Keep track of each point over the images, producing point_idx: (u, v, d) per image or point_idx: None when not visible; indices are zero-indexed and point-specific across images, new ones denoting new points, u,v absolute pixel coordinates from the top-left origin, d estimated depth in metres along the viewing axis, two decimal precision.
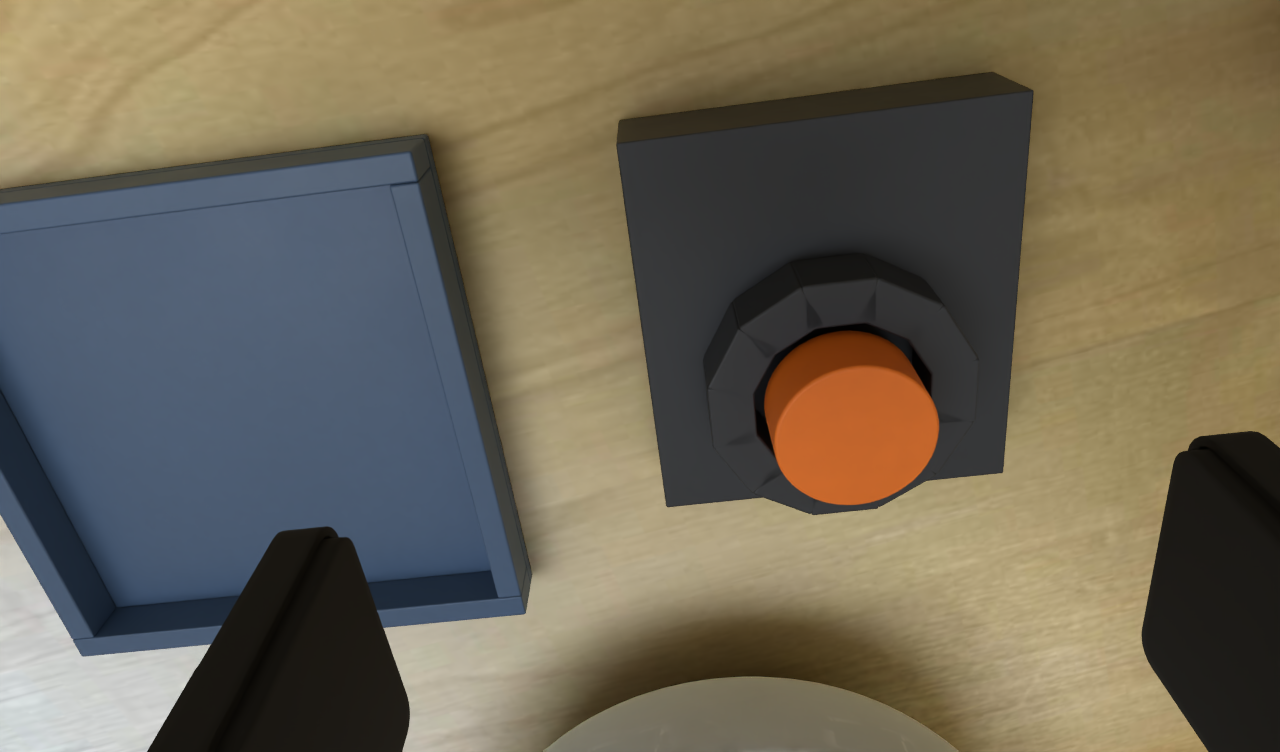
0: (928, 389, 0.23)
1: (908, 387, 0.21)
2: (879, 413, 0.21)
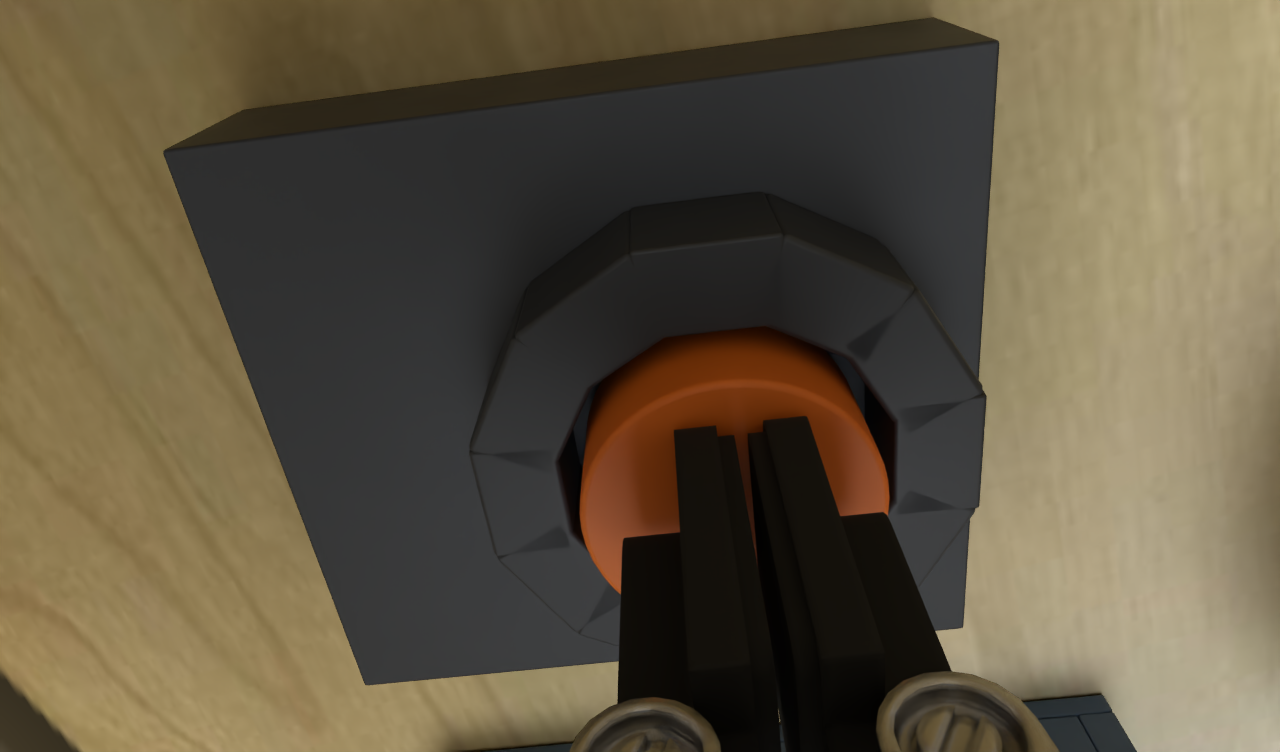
0: None
1: (623, 449, 0.11)
2: None
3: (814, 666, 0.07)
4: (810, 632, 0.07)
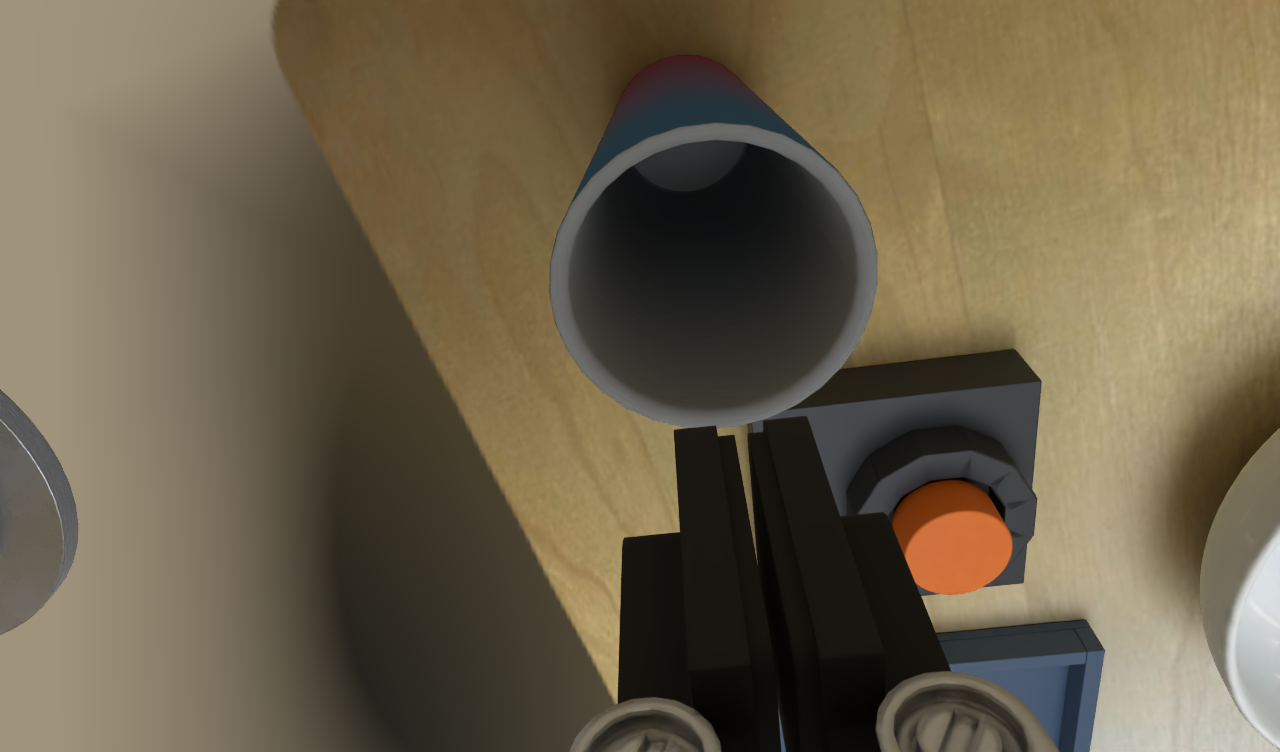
0: None
1: (924, 532, 0.32)
2: (941, 544, 0.32)
3: (814, 665, 0.07)
4: (811, 631, 0.07)
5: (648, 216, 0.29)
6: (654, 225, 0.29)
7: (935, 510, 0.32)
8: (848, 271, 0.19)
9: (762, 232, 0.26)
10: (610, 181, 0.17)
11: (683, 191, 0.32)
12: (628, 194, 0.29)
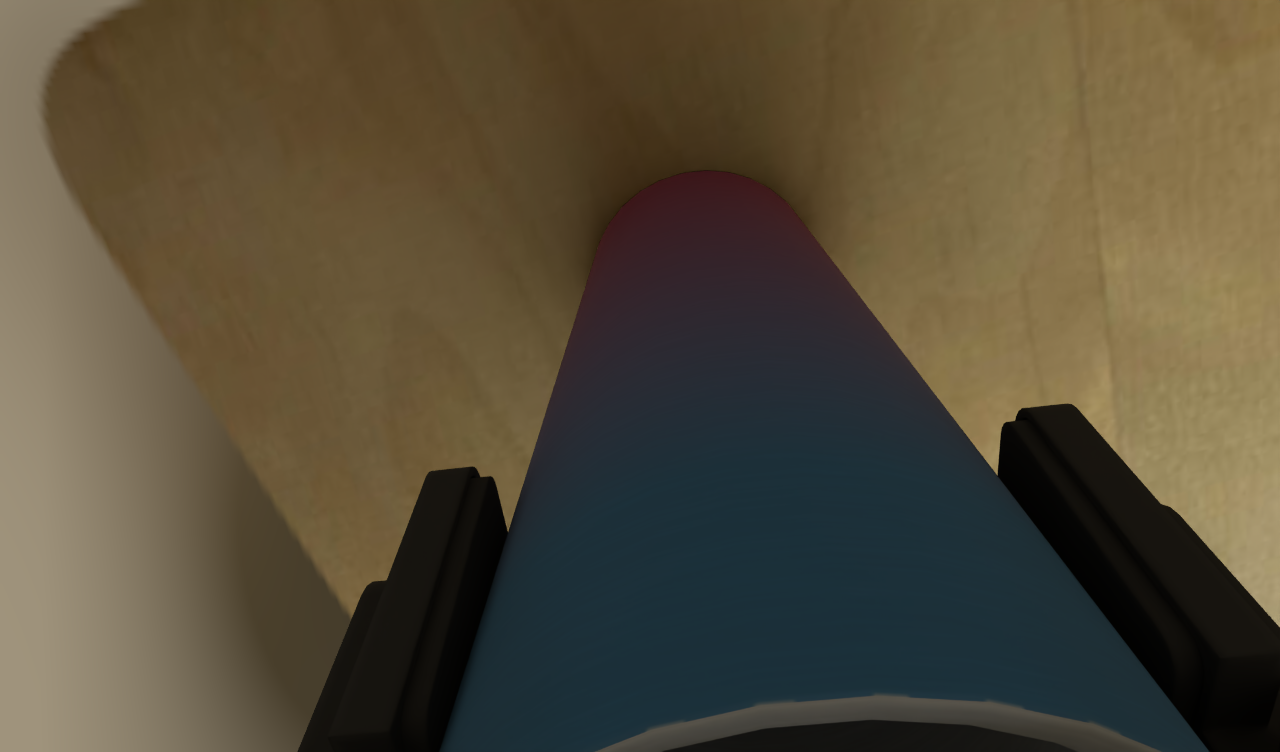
0: None
1: None
2: None
3: (1195, 666, 0.07)
4: (1183, 629, 0.07)
5: None
6: None
7: None
8: None
9: None
10: None
11: None
12: None
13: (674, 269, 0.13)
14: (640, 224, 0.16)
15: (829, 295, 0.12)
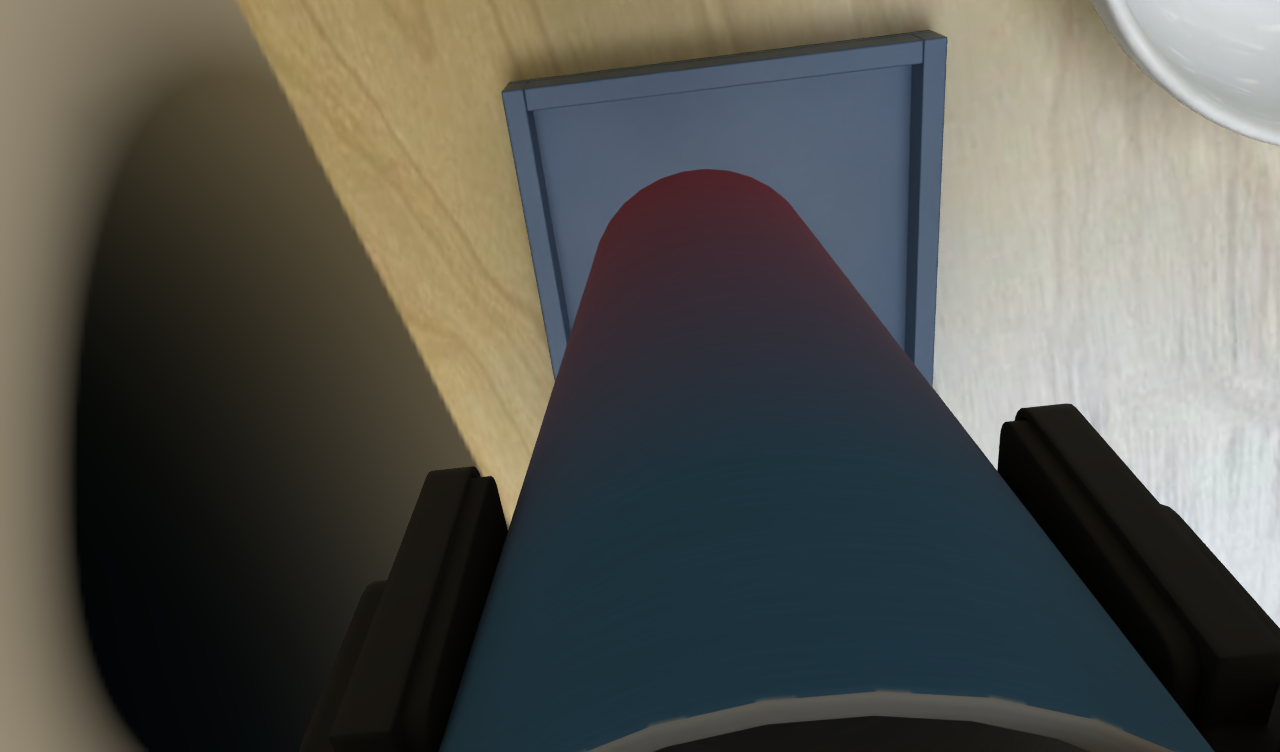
0: None
1: None
2: None
3: (1194, 666, 0.07)
4: (1183, 629, 0.07)
5: None
6: None
7: None
8: None
9: None
10: None
11: None
12: None
13: (674, 267, 0.13)
14: (640, 222, 0.16)
15: (830, 292, 0.12)
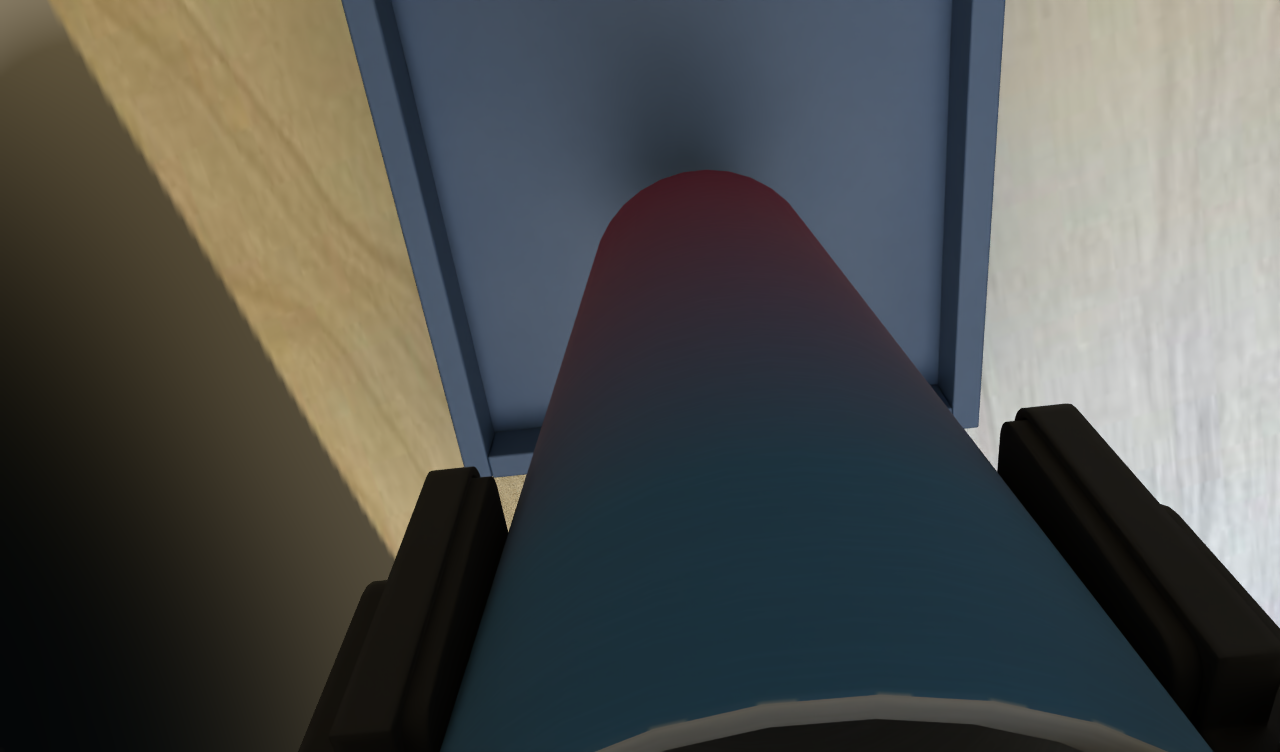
0: None
1: None
2: None
3: (1194, 666, 0.07)
4: (1182, 629, 0.07)
5: None
6: None
7: None
8: None
9: None
10: None
11: None
12: None
13: (675, 268, 0.13)
14: (640, 223, 0.16)
15: (830, 294, 0.12)
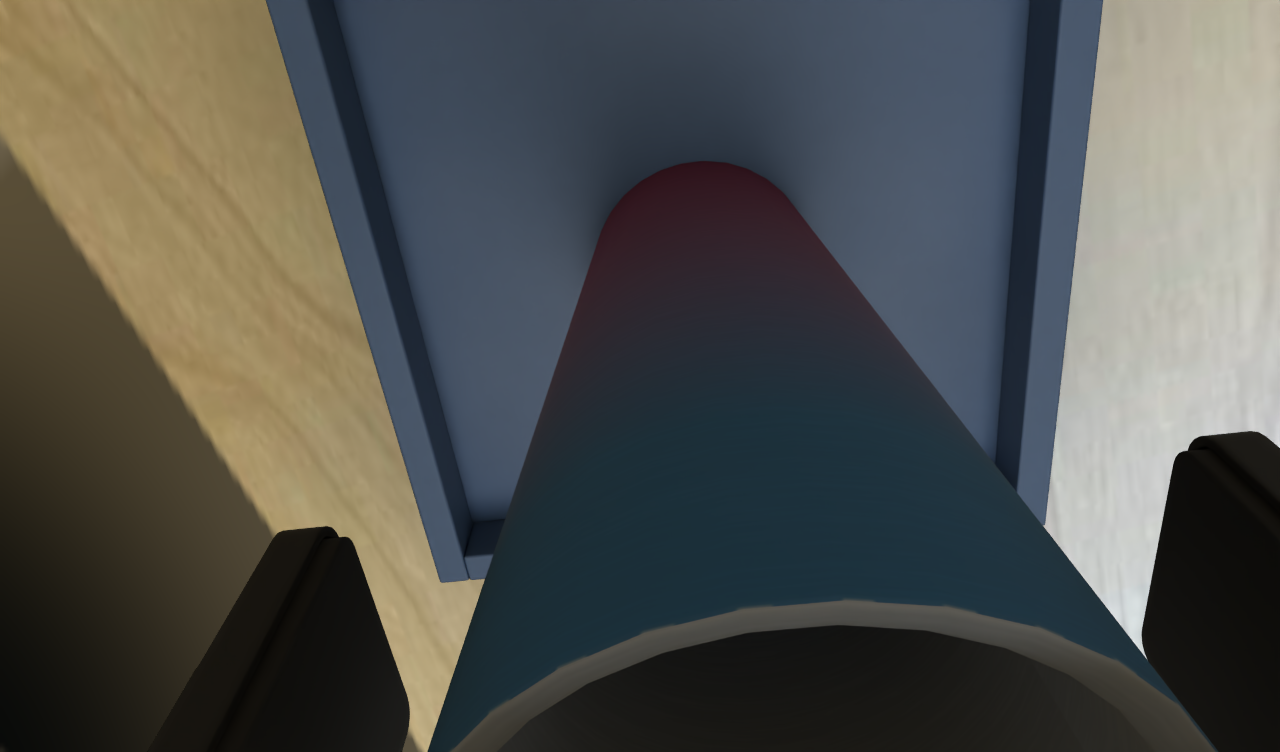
0: None
1: None
2: None
3: None
4: None
5: None
6: None
7: None
8: None
9: None
10: (545, 709, 0.06)
11: None
12: None
13: (672, 250, 0.14)
14: (640, 210, 0.17)
15: (819, 273, 0.13)
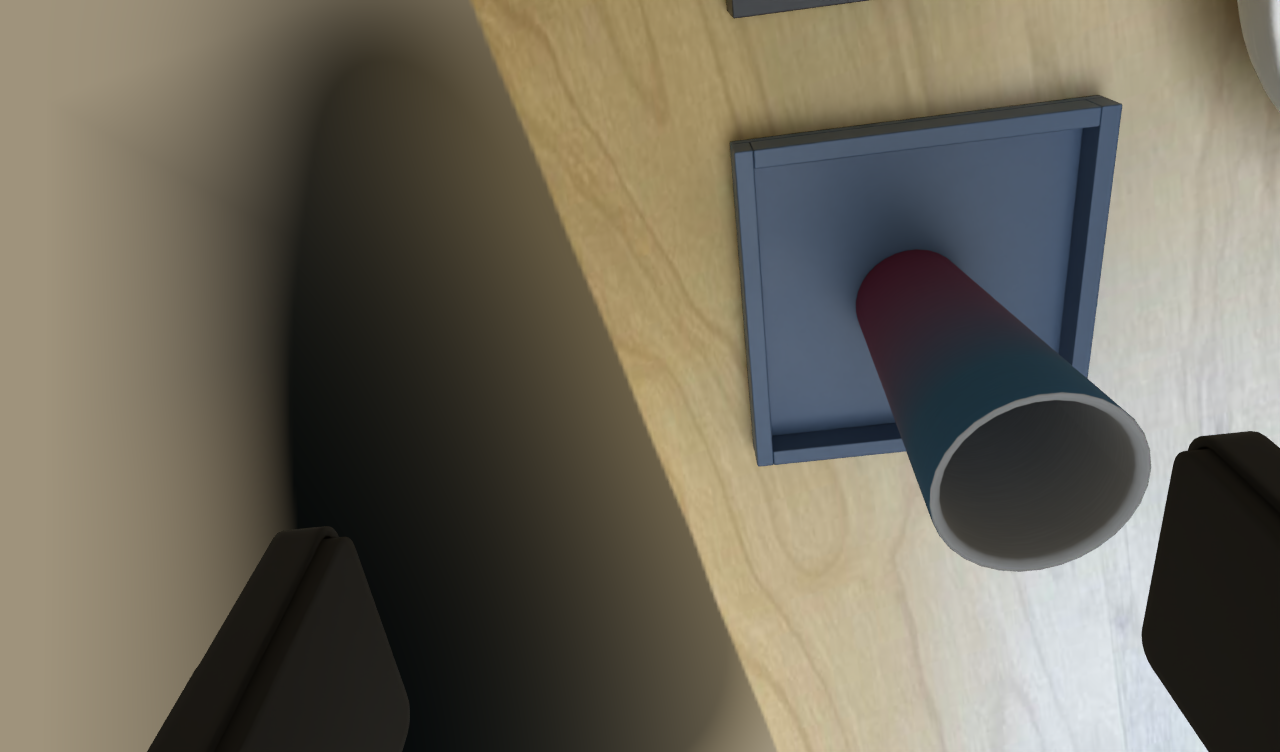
0: None
1: None
2: None
3: None
4: None
5: None
6: None
7: None
8: (1121, 470, 0.28)
9: None
10: (984, 423, 0.27)
11: None
12: None
13: (941, 300, 0.34)
14: (902, 278, 0.37)
15: (1004, 310, 0.33)
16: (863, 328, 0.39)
